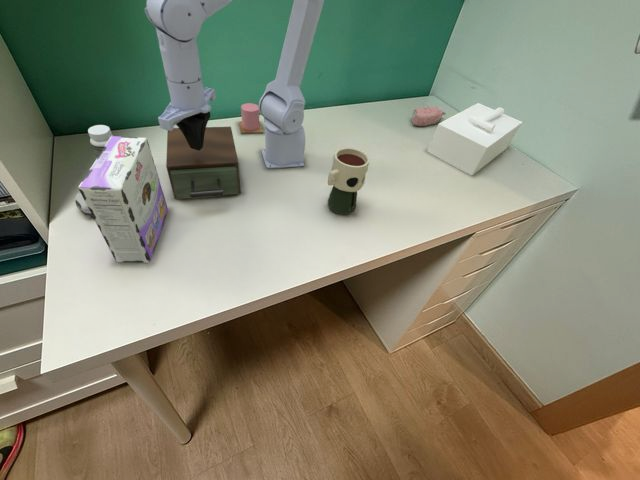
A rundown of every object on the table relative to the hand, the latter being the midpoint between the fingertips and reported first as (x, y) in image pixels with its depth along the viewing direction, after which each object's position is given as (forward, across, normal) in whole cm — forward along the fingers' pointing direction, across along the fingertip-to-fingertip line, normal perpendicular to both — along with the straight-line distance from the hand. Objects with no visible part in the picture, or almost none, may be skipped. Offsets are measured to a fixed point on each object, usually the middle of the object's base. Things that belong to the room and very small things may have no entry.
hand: (196, 147), depth 65 cm
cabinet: (+10, +4, +2) cm, 11 cm away
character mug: (+10, +7, -30) cm, 32 cm away
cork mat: (+10, +28, +3) cm, 30 cm away
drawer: (+9, 0, -1) cm, 9 cm away
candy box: (+10, -17, +2) cm, 20 cm away
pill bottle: (+10, -2, +22) cm, 24 cm away
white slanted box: (+10, +50, -58) cm, 78 cm away
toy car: (+10, -12, +13) cm, 20 cm away
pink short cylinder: (+9, +29, +3) cm, 30 cm away
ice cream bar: (+10, +62, -45) cm, 77 cm away
